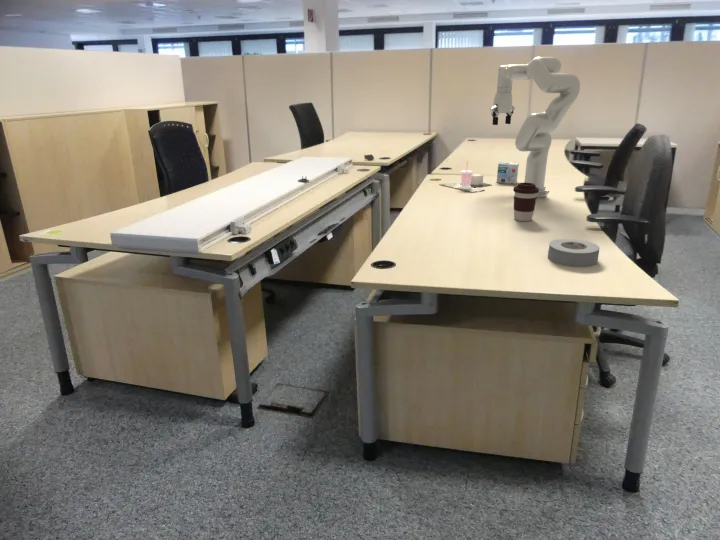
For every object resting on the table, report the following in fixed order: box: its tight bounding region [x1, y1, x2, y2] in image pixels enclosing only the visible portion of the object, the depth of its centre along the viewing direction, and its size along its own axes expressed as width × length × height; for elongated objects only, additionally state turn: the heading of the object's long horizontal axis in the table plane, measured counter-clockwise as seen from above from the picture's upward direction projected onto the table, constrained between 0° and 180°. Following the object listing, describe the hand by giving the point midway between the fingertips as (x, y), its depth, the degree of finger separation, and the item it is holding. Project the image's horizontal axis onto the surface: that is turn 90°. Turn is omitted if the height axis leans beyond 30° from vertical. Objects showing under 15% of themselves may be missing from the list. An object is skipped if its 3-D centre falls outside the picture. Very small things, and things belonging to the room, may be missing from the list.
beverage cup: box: [460, 161, 473, 189], centre depth 282 cm, size 6×6×14 cm
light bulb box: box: [496, 161, 520, 185], centre depth 300 cm, size 11×7×11 cm, turn 68°
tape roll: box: [547, 238, 600, 268], centre depth 174 cm, size 15×15×5 cm
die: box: [471, 173, 484, 185], centre depth 294 cm, size 5×5×5 cm
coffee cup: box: [512, 182, 539, 222], centre depth 221 cm, size 10×10×15 cm
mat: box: [470, 182, 492, 188], centre depth 295 cm, size 12×12×1 cm
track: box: [438, 182, 484, 193], centre depth 288 cm, size 26×9×1 cm, turn 33°
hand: (501, 124), depth 284 cm, fingers open, 9 cm apart
